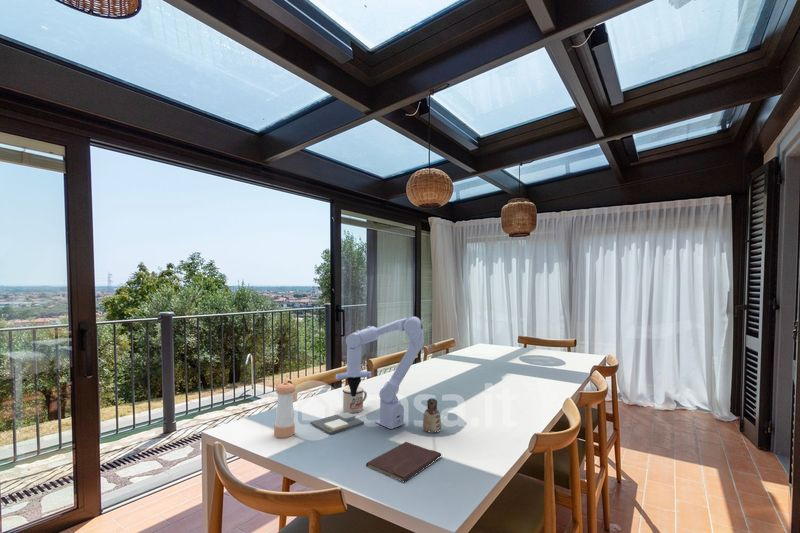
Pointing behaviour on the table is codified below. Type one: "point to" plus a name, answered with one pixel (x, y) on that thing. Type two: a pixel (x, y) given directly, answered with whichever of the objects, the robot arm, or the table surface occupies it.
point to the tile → (336, 425)
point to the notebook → (404, 461)
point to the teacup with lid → (353, 400)
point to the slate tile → (345, 416)
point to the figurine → (431, 417)
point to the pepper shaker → (284, 411)
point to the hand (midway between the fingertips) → (353, 395)
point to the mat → (320, 422)
